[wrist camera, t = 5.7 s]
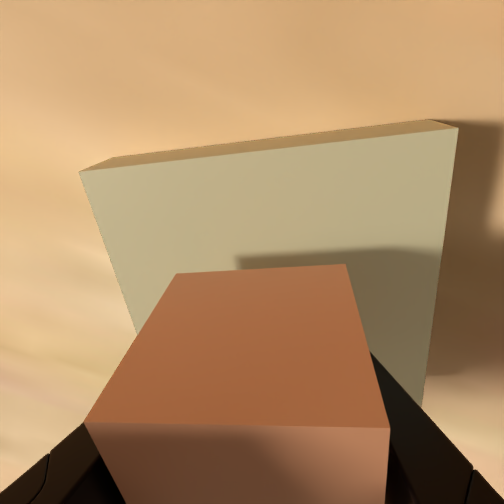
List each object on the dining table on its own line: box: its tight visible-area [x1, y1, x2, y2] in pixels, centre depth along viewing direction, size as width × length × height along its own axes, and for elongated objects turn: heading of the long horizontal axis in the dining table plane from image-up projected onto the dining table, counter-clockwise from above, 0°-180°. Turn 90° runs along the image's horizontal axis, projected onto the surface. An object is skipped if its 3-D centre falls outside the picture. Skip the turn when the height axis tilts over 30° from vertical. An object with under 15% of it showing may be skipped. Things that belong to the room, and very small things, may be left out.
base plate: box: [79, 119, 459, 407], centre depth 12 cm, size 10×10×2 cm
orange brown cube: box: [84, 264, 390, 504], centre depth 8 cm, size 4×4×4 cm
